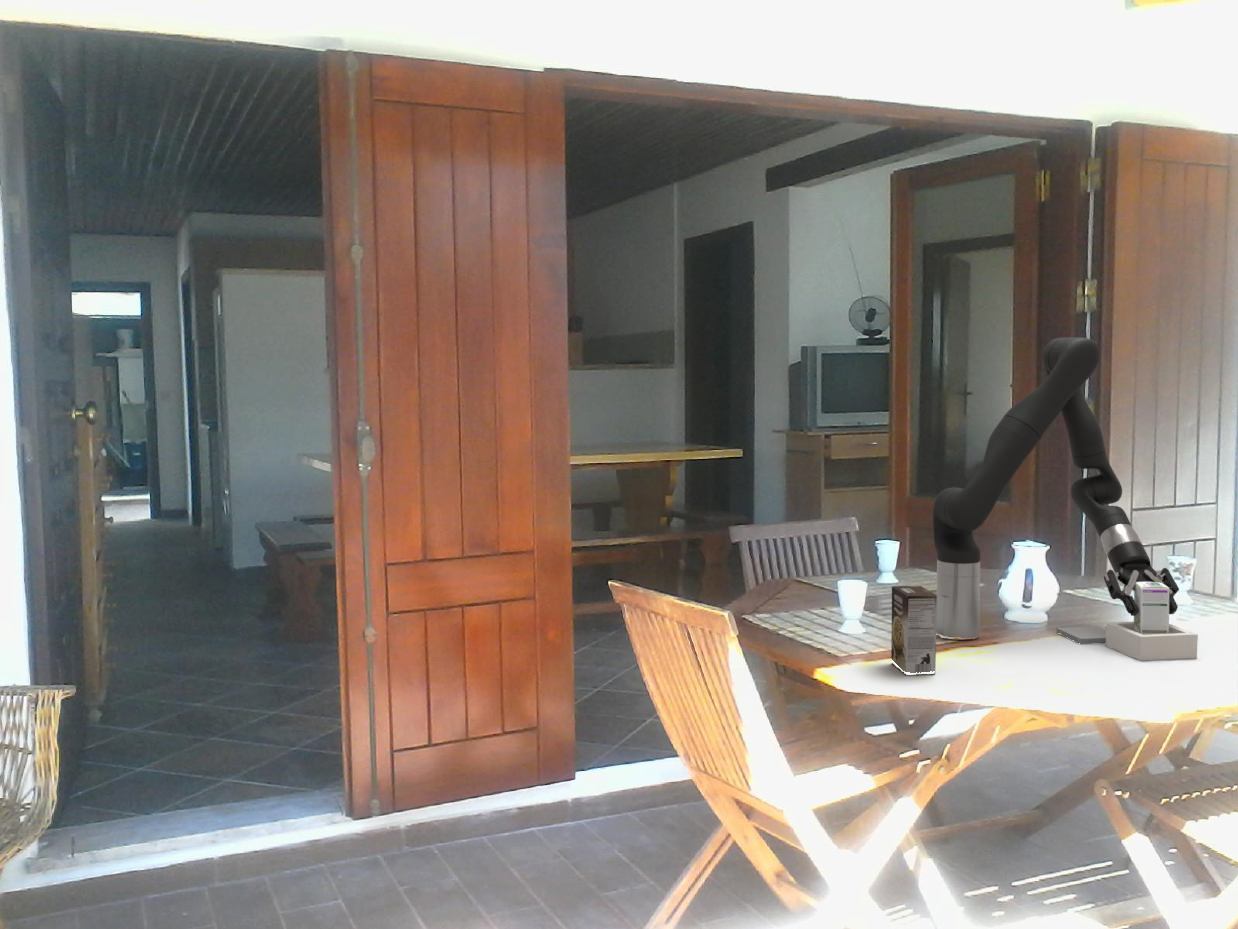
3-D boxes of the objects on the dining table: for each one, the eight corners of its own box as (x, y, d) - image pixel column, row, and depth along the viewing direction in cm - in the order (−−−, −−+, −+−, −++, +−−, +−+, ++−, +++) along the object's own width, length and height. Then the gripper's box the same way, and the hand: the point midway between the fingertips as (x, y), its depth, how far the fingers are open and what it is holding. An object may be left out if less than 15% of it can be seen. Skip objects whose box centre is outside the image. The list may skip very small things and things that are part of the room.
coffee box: (889, 663, 222) (890, 585, 220) (920, 662, 222) (921, 585, 221) (904, 676, 212) (905, 595, 211) (936, 675, 213) (938, 594, 211)
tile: (1080, 644, 235) (1080, 638, 235) (1056, 633, 245) (1056, 628, 245) (1123, 642, 236) (1123, 637, 236) (1098, 631, 246) (1098, 626, 246)
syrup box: (1169, 656, 225) (1171, 587, 224) (1138, 654, 226) (1140, 586, 225) (1161, 649, 231) (1163, 581, 229) (1131, 647, 232) (1133, 580, 231)
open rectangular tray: (1139, 660, 222) (1140, 636, 221) (1105, 645, 234) (1106, 622, 233) (1196, 658, 223) (1197, 634, 223) (1159, 643, 235) (1160, 620, 235)
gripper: (1100, 540, 233) (1130, 604, 223) (1162, 538, 235) (1195, 602, 225) (1086, 560, 239) (1115, 624, 229) (1147, 558, 241) (1178, 621, 230)
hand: (1154, 613), depth 227 cm, fingers open, 8 cm apart
